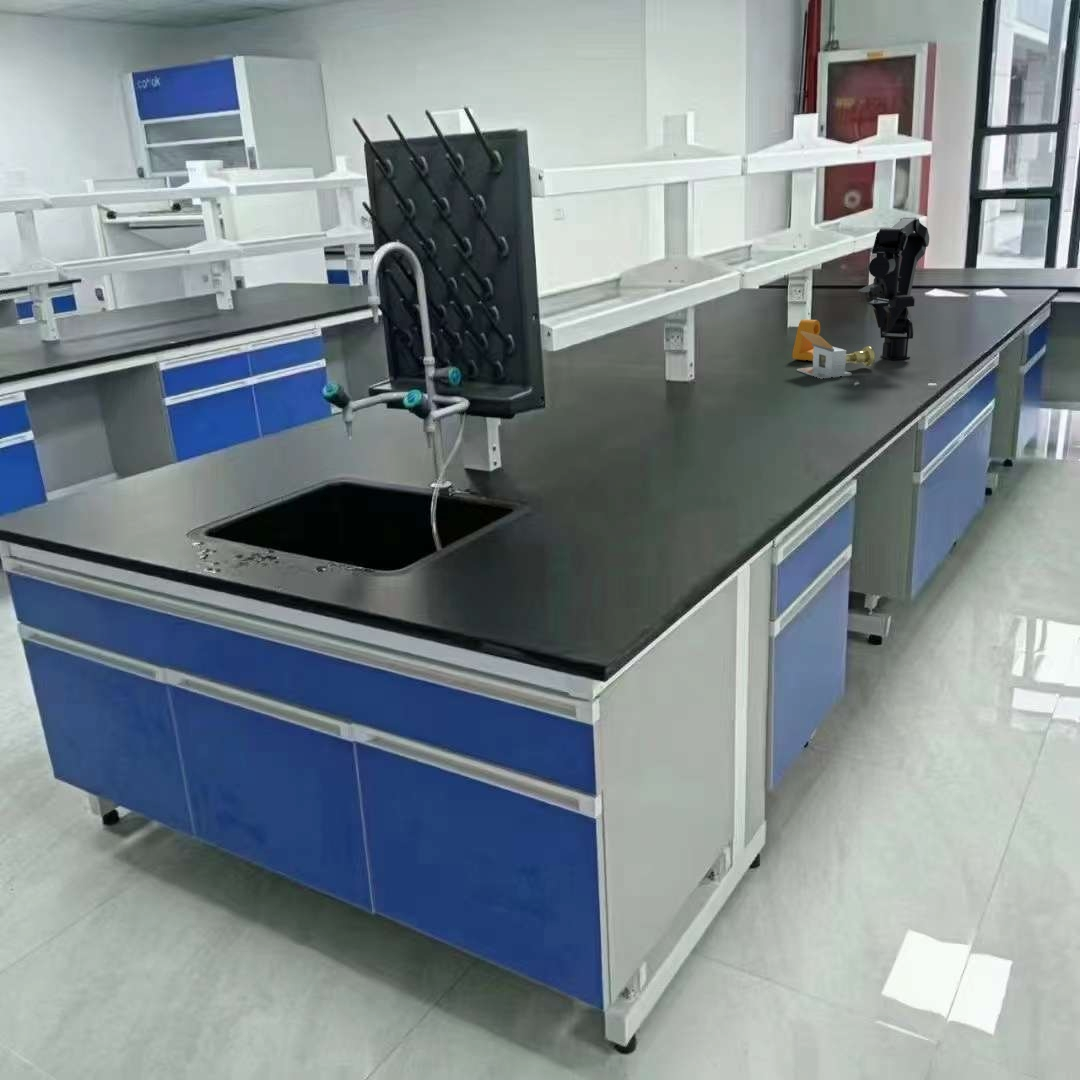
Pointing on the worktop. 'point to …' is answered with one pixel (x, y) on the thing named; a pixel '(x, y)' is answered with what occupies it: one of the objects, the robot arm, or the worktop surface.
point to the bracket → (805, 340)
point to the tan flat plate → (817, 341)
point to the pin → (862, 356)
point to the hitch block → (827, 363)
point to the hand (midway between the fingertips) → (884, 328)
